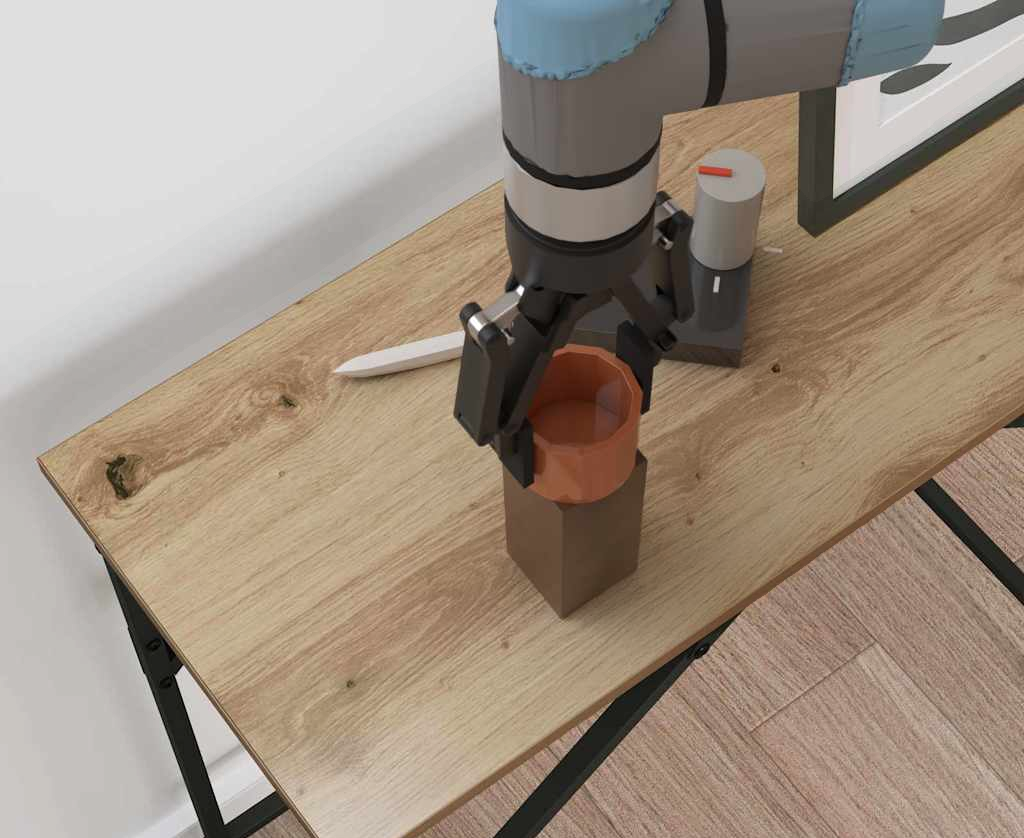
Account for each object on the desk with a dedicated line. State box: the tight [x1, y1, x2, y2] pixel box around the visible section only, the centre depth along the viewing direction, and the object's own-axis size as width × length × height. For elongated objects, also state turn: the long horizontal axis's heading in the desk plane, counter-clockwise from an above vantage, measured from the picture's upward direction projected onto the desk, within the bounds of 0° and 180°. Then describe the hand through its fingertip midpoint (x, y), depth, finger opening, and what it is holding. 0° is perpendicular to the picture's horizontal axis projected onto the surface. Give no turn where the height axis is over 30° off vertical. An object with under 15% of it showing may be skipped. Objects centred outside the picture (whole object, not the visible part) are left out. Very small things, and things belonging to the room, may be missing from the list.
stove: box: [567, 215, 783, 369], centre depth 124 cm, size 16×14×3 cm
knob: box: [689, 148, 768, 270], centre depth 120 cm, size 5×5×8 cm
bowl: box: [526, 344, 643, 504], centre depth 98 cm, size 8×8×6 cm
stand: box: [501, 447, 649, 620], centre depth 107 cm, size 7×7×15 cm
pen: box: [331, 329, 465, 378], centre depth 122 cm, size 2×14×2 cm, turn 106°
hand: (574, 433), depth 99 cm, fingers closed on bowl, 8 cm apart
